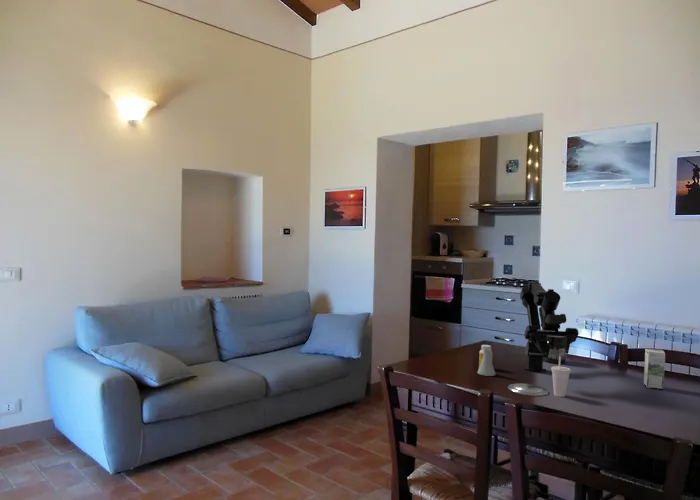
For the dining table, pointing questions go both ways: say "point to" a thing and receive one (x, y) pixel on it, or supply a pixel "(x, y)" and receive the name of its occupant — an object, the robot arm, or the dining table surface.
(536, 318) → the robot arm
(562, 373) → the smoothie
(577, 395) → the dining table surface
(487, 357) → the flask
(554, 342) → the supplement container
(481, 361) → the supplement bottle
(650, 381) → the syrup box
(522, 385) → the grey stepped round plate
